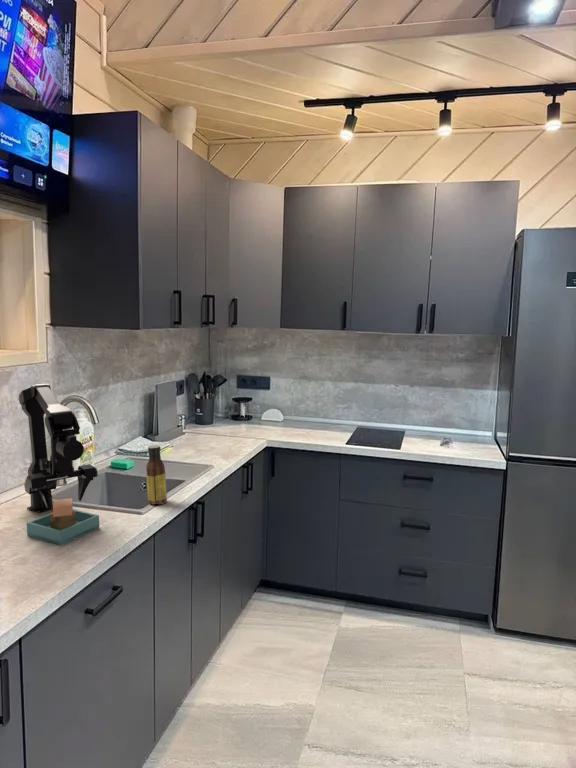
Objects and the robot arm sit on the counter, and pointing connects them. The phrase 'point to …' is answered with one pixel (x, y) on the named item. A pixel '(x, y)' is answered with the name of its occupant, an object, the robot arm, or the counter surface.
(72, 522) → the walnut block
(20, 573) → the counter surface
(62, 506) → the terracotta carton
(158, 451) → the sauce bottle
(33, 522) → the tote
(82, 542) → the counter surface
